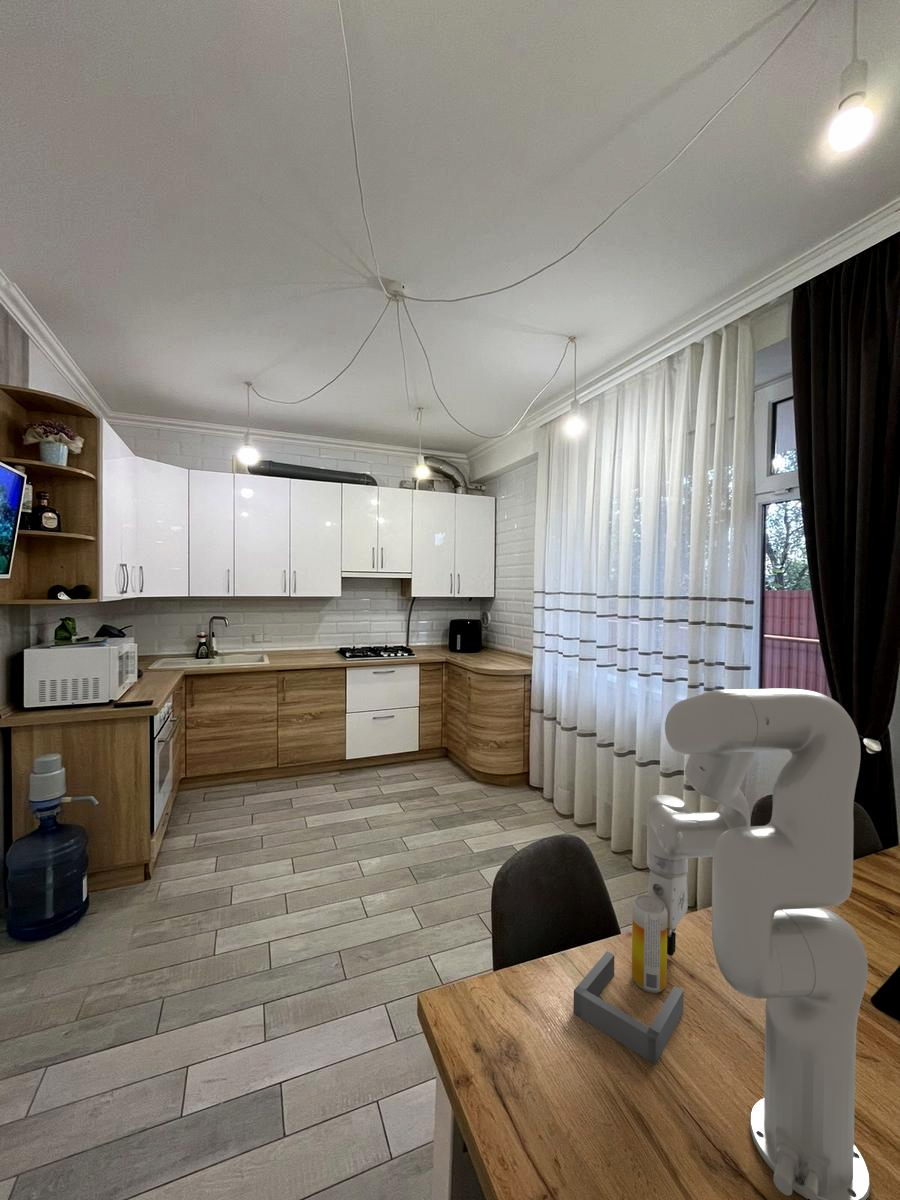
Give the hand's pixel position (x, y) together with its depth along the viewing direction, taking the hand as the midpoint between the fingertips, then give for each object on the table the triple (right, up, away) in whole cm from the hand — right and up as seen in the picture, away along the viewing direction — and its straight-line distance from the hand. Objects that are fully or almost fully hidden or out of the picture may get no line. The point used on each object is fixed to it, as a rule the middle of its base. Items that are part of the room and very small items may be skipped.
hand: (665, 950), depth 100 cm
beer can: (-6, -2, -7) cm, 9 cm away
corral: (-12, -1, -13) cm, 18 cm away
